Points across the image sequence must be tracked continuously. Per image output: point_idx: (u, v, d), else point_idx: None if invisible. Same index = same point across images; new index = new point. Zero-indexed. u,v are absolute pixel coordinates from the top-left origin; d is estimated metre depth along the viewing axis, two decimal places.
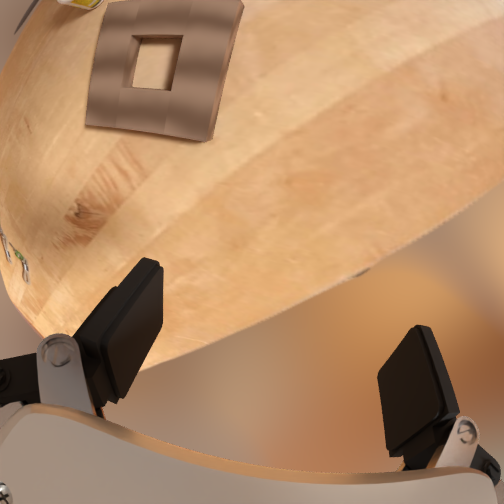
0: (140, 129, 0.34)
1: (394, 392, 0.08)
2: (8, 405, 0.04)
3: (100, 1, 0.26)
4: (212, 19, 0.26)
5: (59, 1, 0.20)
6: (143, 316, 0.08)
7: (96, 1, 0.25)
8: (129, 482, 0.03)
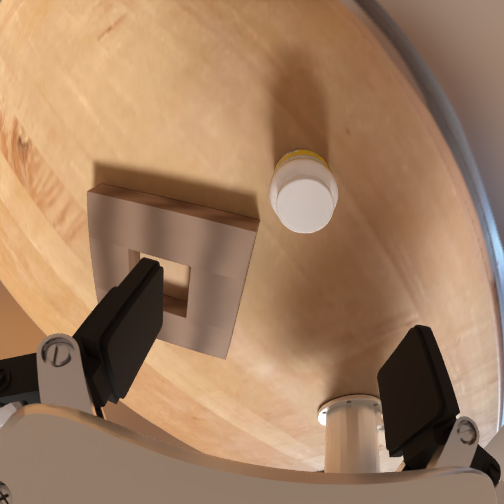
0: (93, 265, 0.34)
1: (394, 392, 0.08)
2: (8, 405, 0.04)
3: None
4: (203, 340, 0.37)
5: (278, 178, 0.21)
6: (143, 316, 0.08)
7: None
8: (129, 482, 0.03)
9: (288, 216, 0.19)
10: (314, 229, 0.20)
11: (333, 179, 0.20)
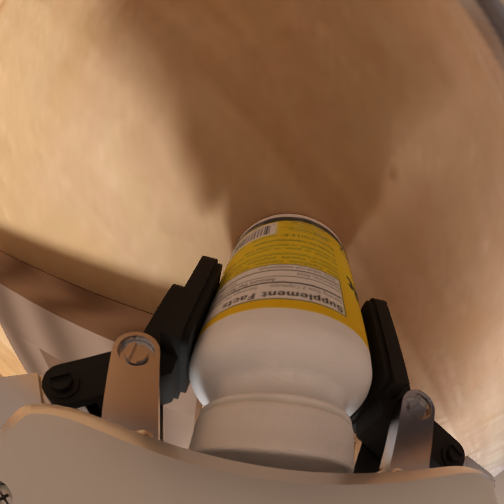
0: (15, 351, 0.20)
1: None
2: None
3: None
4: None
5: (204, 366, 0.07)
6: (207, 312, 0.09)
7: None
8: (129, 482, 0.03)
9: None
10: None
11: (365, 366, 0.06)
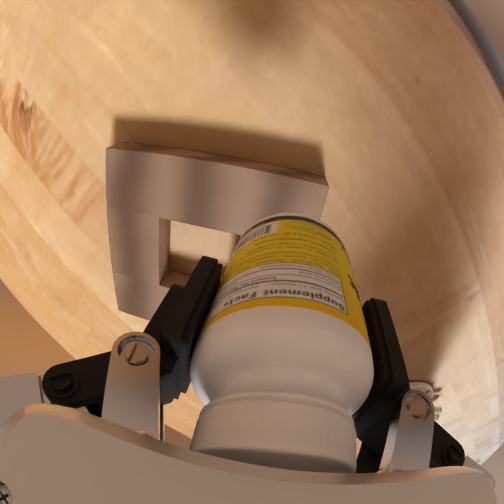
0: (111, 244, 0.28)
1: None
2: None
3: None
4: None
5: (205, 365, 0.07)
6: (207, 311, 0.09)
7: None
8: (129, 482, 0.03)
9: None
10: None
11: (367, 365, 0.06)
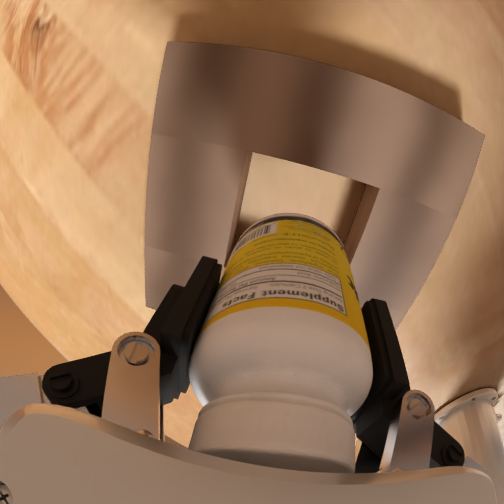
0: (149, 198, 0.18)
1: None
2: None
3: None
4: None
5: (204, 365, 0.07)
6: (207, 312, 0.09)
7: None
8: (129, 482, 0.03)
9: None
10: None
11: (366, 365, 0.06)
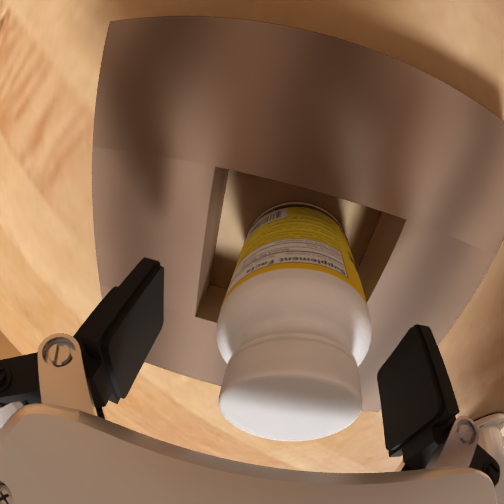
0: (97, 230, 0.13)
1: (393, 392, 0.08)
2: (9, 405, 0.04)
3: None
4: None
5: (232, 320, 0.08)
6: (144, 316, 0.08)
7: None
8: (129, 482, 0.03)
9: (250, 423, 0.07)
10: (309, 437, 0.07)
11: (365, 318, 0.08)
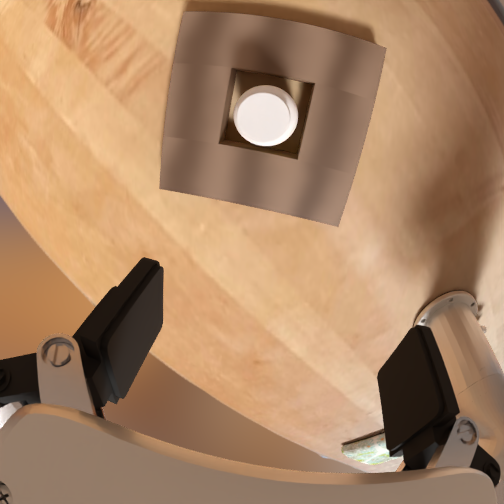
0: (169, 102, 0.25)
1: (394, 392, 0.08)
2: (8, 405, 0.04)
3: None
4: (314, 195, 0.29)
5: (240, 101, 0.21)
6: (143, 316, 0.08)
7: None
8: (129, 482, 0.03)
9: (248, 127, 0.20)
10: (273, 137, 0.20)
11: (291, 99, 0.21)
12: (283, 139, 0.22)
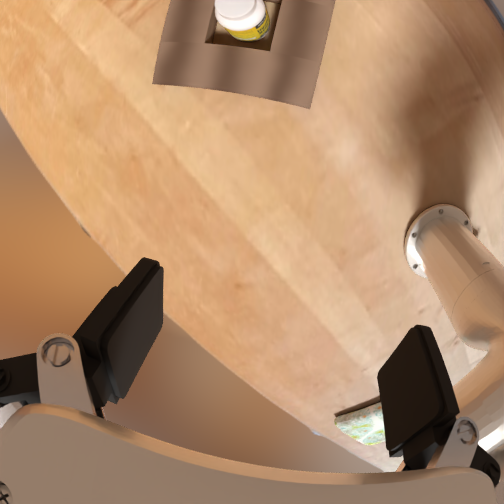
0: (167, 17, 0.25)
1: (394, 392, 0.08)
2: (8, 405, 0.04)
3: (233, 36, 0.28)
4: (285, 80, 0.28)
5: None
6: (143, 316, 0.08)
7: None
8: (129, 482, 0.03)
9: (223, 8, 0.20)
10: (242, 13, 0.20)
11: None
12: (253, 23, 0.22)
